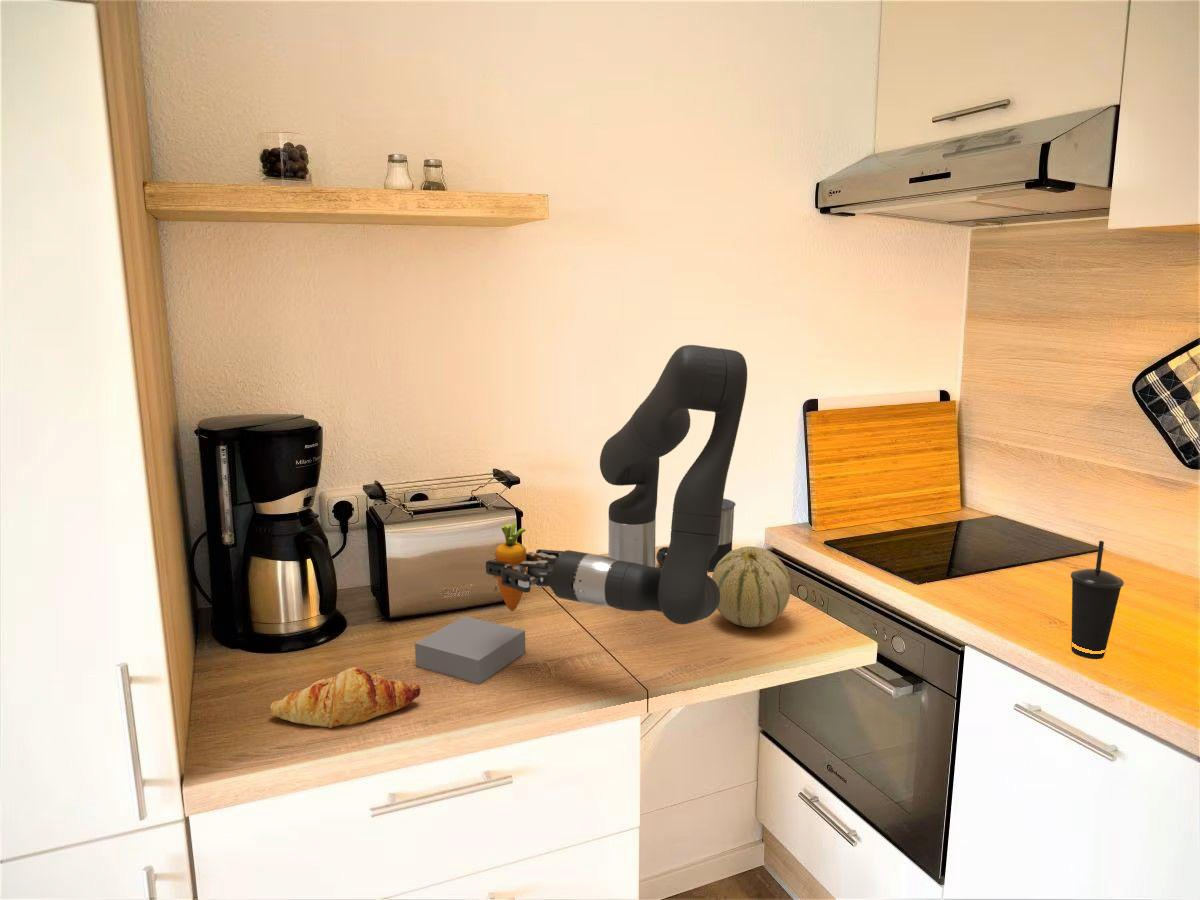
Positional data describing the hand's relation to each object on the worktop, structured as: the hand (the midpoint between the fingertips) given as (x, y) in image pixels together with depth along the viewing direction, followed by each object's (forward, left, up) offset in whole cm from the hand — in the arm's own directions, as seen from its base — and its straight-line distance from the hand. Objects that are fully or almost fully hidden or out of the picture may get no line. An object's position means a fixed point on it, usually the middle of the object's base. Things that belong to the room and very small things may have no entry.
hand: (497, 561), depth 131 cm
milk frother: (-61, +10, -18) cm, 64 cm away
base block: (+1, -5, -18) cm, 18 cm away
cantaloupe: (-36, +31, -18) cm, 51 cm away
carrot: (0, +3, -8) cm, 9 cm away
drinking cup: (-52, +86, -18) cm, 102 cm away
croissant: (+24, -10, -18) cm, 32 cm away
